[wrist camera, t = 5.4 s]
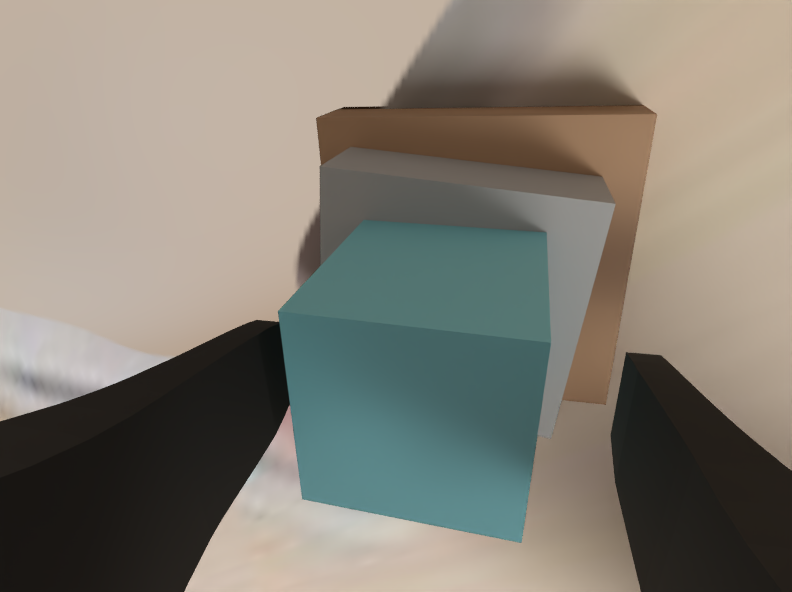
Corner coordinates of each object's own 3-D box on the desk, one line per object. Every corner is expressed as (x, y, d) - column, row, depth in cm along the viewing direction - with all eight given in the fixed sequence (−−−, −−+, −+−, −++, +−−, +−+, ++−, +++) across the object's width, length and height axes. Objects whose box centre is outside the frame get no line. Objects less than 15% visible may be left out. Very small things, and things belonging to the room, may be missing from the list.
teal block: (526, 387, 14) (521, 542, 10) (369, 366, 15) (302, 499, 11) (546, 232, 12) (551, 342, 8) (363, 219, 13) (277, 311, 9)
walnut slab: (596, 361, 19) (605, 404, 17) (363, 340, 21) (343, 376, 19) (638, 102, 15) (657, 114, 13) (343, 107, 17) (316, 117, 15)
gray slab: (548, 387, 17) (550, 438, 15) (346, 348, 18) (320, 391, 16) (602, 176, 14) (615, 203, 11) (350, 146, 15) (319, 166, 13)
